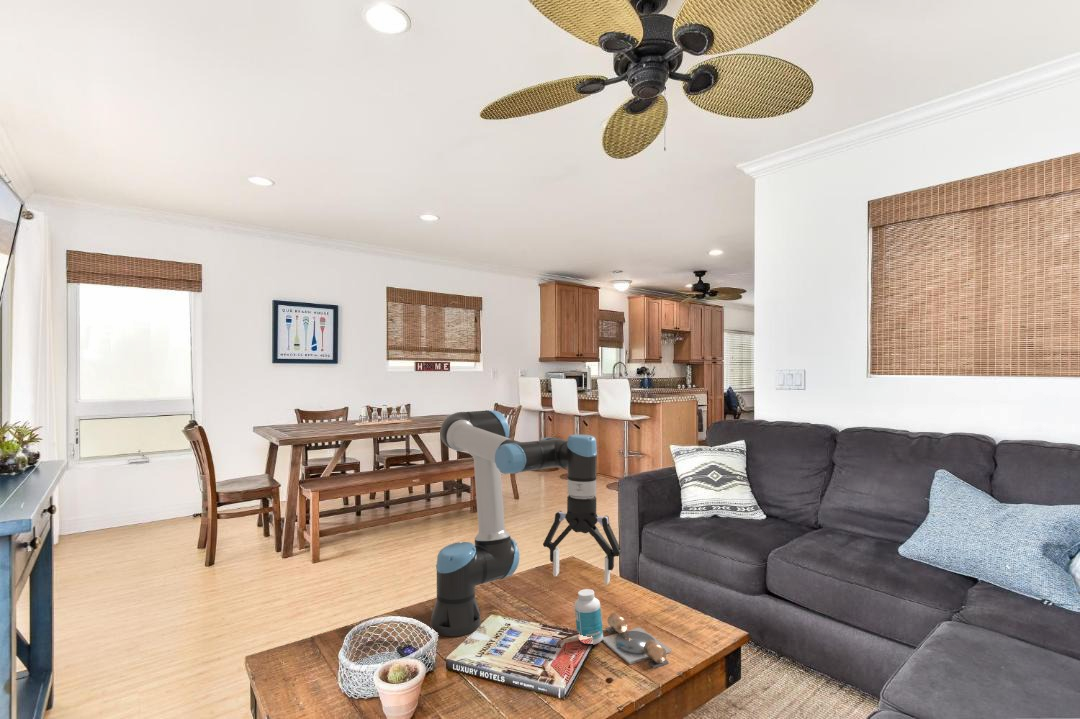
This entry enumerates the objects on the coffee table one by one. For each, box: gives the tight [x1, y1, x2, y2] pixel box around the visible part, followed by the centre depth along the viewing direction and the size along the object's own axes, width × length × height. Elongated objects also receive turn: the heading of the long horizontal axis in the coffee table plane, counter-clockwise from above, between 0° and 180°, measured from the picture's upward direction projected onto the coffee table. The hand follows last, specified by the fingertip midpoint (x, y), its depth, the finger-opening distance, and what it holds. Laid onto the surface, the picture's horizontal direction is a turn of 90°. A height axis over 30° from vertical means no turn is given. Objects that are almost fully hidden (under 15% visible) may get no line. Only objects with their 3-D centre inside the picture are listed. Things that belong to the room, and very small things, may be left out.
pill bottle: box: [574, 588, 604, 646], centre depth 150 cm, size 8×7×14 cm
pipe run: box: [601, 612, 672, 669], centre depth 147 cm, size 22×14×5 cm, turn 26°
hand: (581, 578), depth 134 cm, fingers open, 13 cm apart
